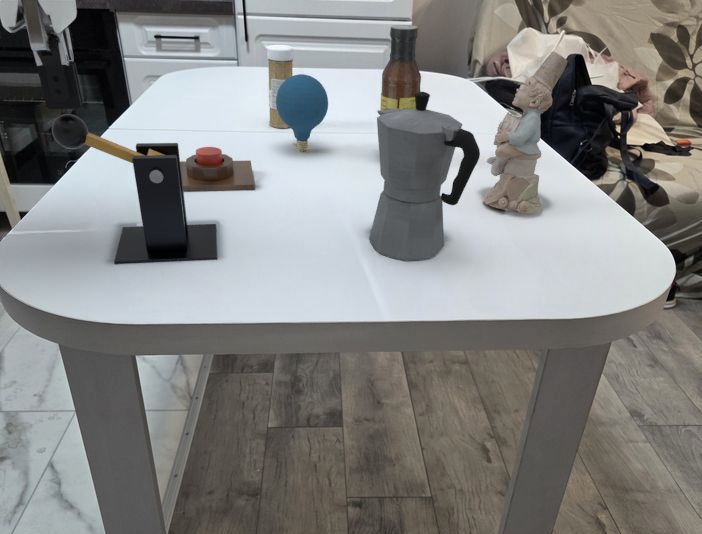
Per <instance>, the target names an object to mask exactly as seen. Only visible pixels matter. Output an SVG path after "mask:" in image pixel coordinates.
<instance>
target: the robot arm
mask: <svg viewBox="0 0 702 534" xmlns="http://www.w3.org/2000/svg"><path fill="white" fill-rule="evenodd" d="M77 14H78V10H77V2H76V0H0V22H1V26H2V27H3V28H4V30H5V31H7V32H9V33H11V34H13V33H17V32H18V31H20V30H21V29H23V28H24V27H25V28H26V30H27V34H28V40H29V45H30V49H31V50H32V53H33V56H34V60H35V64H36V68H37V73H38V76H39V77H38V78H39V81H40V85H41V89H42V94H43V98H44V102H45V106H46V107H47V109H49V110H79V109H80V108H81V107H82V105H83V103H84V99H83V94H82V93H83V92H82V89H81V83H80V77H79V74H78V68H77V65H76V61H74V60H75V59H74V52H73V45H72V40H71V39H72V38H71V34H70V29H69V25H71V24H72V23H73V22H74V21H75V20H76V18H77V16H78V15H77Z"/></svg>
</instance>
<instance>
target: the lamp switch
mask: <svg viewBox="0 0 702 534" xmlns="http://www.w3.org/2000/svg"><path fill="white" fill-rule="evenodd" d="M149 149H152V150H154V151H157V152H159V153H162V154H164V155H147V154H148V151H149ZM135 151H136V152H138V153H141V154H143V155H139V156H133V158H132V161H133V163H132V166H133V167H132V168H133V173H134V179H135V186H136V192H137V198H138V205H139V210H140V216H141V223H142V226H140V225H139V226H123V227H122V229H121V232H120V237H119V241H118V246H117V249H116V253H115V256H114V261H113V263H114V265H128V264H150V263H173V262H175V263H176V262H195V261H197V262H199V261H217V260H218V242H217V239H218V238H217V237H218V236H217V223H201V224H199V223H198V224H188V219H187V218H188V217H187V210H186V202H185V201H186V200H185V192H184V191H183V183H182V174H181V165H180V162H181V158H180V157H181V156H180V149H179V143H178V142H154V143H153V142H148V143H147V142H145V143H144V142H141V143H140V142H138V143H136V144H135Z"/></svg>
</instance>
